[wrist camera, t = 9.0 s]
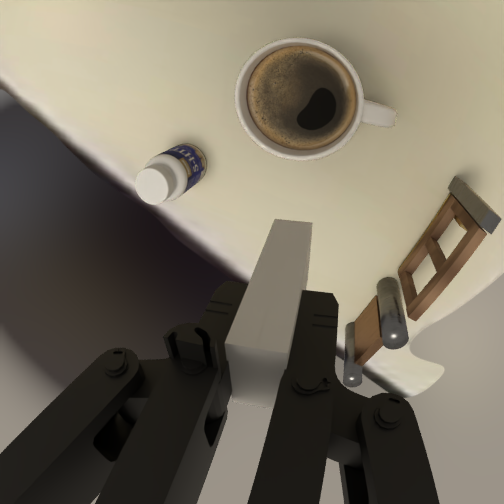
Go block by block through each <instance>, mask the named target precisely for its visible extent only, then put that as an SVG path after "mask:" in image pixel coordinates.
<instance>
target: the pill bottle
mask: <svg viewBox="0 0 504 504" xmlns="http://www.w3.org/2000/svg"><path fill="white" fill-rule="evenodd" d="M205 171H206V160H205V157H204V155H203V154H202V152H201V151H200V150H199V149H198V148H196V147H195V146H193V145H190V144H181V145H178V146H175V147H173V148H171V149H169V150H167V151H165V152H163V153H161V154H159V155H157V156H155V157H153V158H152V159H150V160H149V162H148V163H147V164H146V166H145V168H144V169H143V170H141V171H140V172H139V173H138V175H137V177H136V180H135V187H136V191H137V193H138V195H139V196H140V198H141V199H142V200H143V201H145V202H146V203H149V204H152V205H157V204H160V203H162V202H164V201H172V200H175V199H177V198H178V197H180V196H181V195H182V194H184V193H185V192H186V191H187V190H189V189H190V188H191V187H192V186H194V185H195V184H196V183H198V182H199V181H200V180H201V179H202V178H203V176H204V174H205Z"/></svg>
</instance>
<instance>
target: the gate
mask: <svg viewBox="0 0 504 504" xmlns="http://www.w3.org/2000/svg"><path fill="white" fill-rule="evenodd" d="M455 215H456V216H457V217H458V219H459V220H460V221H461V223H462V224H463V225H464V227H465V228H466V230H467V233H466V234H465V235H464V237H463V238H462V240H461V241H460V242H459V244H458V245H457V246H456V248H455V249H454V251H453V252H452V253H451V255H450V256H449V257H448V258H447V260H446V258H445V256H444V254H443V252H442V250H441V248H440V246H439V244H438V242H437V241H438V239H439V238H440V236H441V235H442V234H443V232H444V231H445V229H446V228H447V226H448V225H449V224H450V222H451V221H452V219H453V218H454V216H455ZM486 235H487V233H486V232H485V231H484V230H483V228H482V227H481V226H480V225H479V224H478V223H477V222H476V220H475V219H474V218H473V217H472V216H471V214H470V213H469V212H468V211H467V210H466V208H465V207H464V206H463V205H462V204H461V203H460V201H459V200H458V199H457V198H456V197H454V196H453V195H451V196H450V198H449V199H448V201H447V202H446V204H445V205H444V207H443V208H442V210H441V211H440V213H439V214H438V216H437V217H436V219H435V220H434V222H433V223H432V225H431V226H430V228H429V229H428V230H427V232H426V233H425V235H424V236H423V238H422V239H421V240H420V242H419V243H418V245H417V246H416V247H415V249H414V250H413V251H412V253H411V254H410V255H409V257H408V258H407V260H406V261H405V262H404V264H403V265H402V266H401V267H400V269H399V270H398V275H399V278H400V281H401V285H402V290H403V294H404V298H405V303H406V311H407V315H408V318H410V319H412V320H414V321H417V320H418V319H419V317H420V316H421V315H422V314H423V313H424V312H425V311H426V310H427V309H428V308H429V306H430V305H431V304H432V303H433V302H434V301H435V300H436V298H437V297H438V296H439V295H440V294H441V293H442V292H443V290H444V289H445V288H446V287H447V286H448V284H449V283H450V282H451V281H452V280H453V278H454V277H455V276H456V275H457V273H458V272H459V271H460V270H461V268H462V267H463V266H464V265H465V263H466V262H467V261H468V259H469V258H470V257H471V255H472V254H473V253H474V251H475V250H476V249H477V247H478V246H479V245H480V243H481V242H482V241H483V239H484V238H485V236H486ZM428 253H429V255H430V257H431V259H432V262H433V264H434V266H435V269H436V271H437V273H436V274H435V275H434V276H433V278H432V279H431V280H430V281H429V282H428V284H427V285H426V286H425V287H424V289H423V290H422V291H421V292H420V293H419V294H418V296H417V292H416V289H415V285H414V282H413V278H412V274H413V273H414V271H415V270H416V269H417V267H418V266H419V265H420V263H421V262H422V261H423V260H424V258H425V257H426V256H427V254H428Z"/></svg>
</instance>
